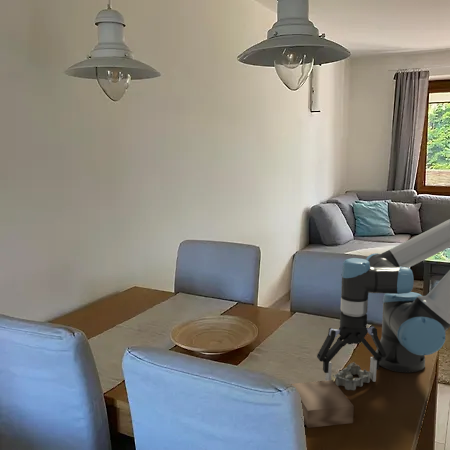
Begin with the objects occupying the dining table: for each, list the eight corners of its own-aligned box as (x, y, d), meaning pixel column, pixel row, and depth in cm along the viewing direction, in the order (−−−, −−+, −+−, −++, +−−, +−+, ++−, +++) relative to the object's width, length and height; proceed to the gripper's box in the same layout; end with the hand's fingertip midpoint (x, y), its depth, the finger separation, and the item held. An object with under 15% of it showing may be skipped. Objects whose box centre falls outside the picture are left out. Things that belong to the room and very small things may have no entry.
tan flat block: (332, 396, 142) (332, 379, 141) (352, 424, 128) (353, 405, 127) (290, 400, 140) (291, 383, 139) (307, 429, 126) (307, 410, 125)
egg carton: (354, 373, 155) (354, 360, 155) (374, 382, 149) (375, 369, 149) (330, 383, 149) (330, 370, 149) (350, 393, 143) (351, 379, 143)
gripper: (389, 306, 151) (385, 372, 155) (307, 309, 148) (305, 377, 151) (400, 314, 144) (396, 384, 147) (315, 318, 140) (313, 389, 144)
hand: (350, 381), depth 149 cm, fingers open, 13 cm apart
